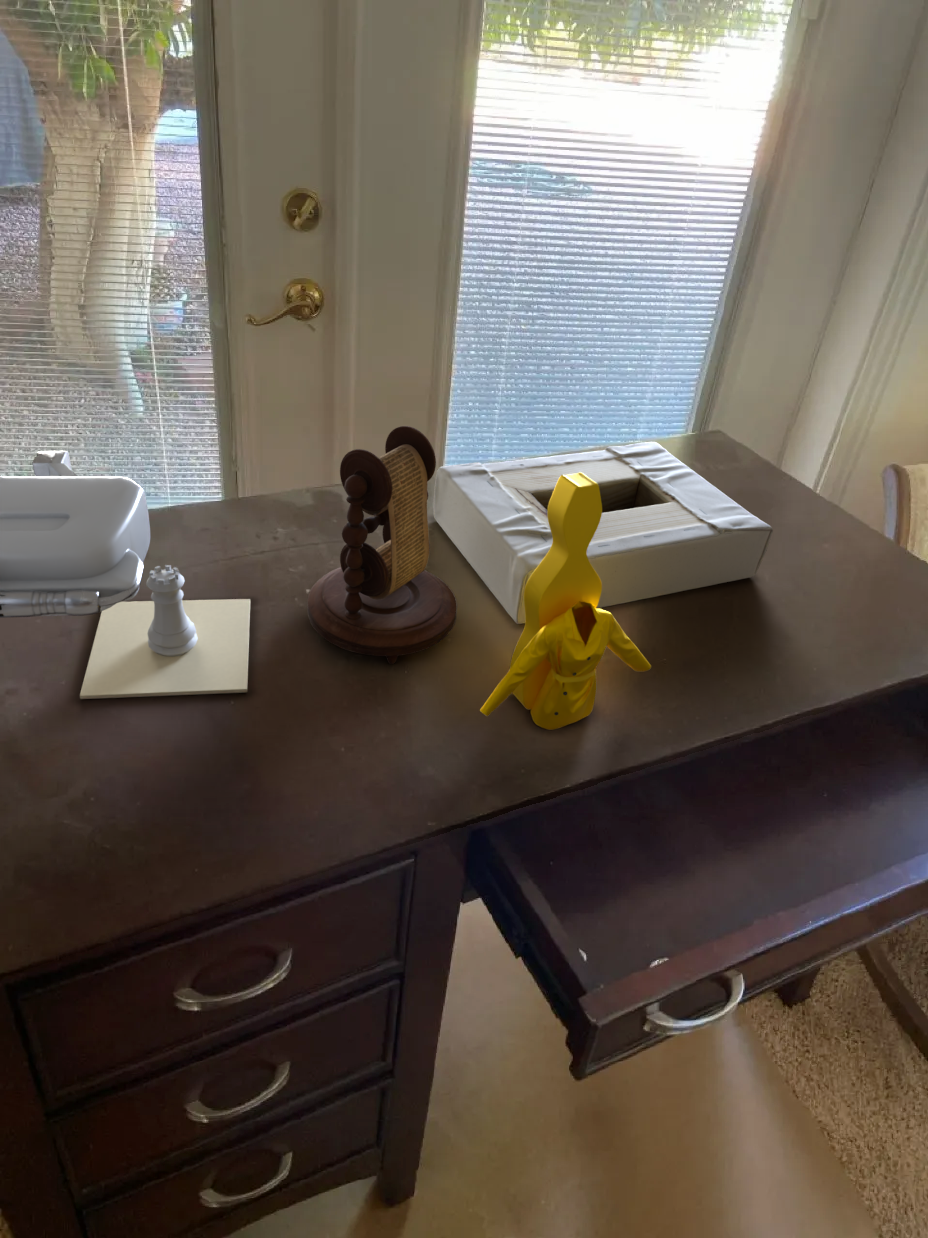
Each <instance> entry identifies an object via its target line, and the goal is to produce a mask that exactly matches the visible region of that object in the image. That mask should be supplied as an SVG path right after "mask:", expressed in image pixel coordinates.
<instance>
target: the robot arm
mask: <svg viewBox="0 0 928 1238" xmlns="http://www.w3.org/2000/svg"><path fill="white" fill-rule="evenodd" d="M32 469H33V473H34V474H33V475H35V476H33V475H32V476H26V475H25V476H22V475H21V476H19V475H17V476H16V475H15V476H14V475H13V476H12V475H9V476H7V475H5V476H4V475H3V476H2V475H1V476H0V619H1V618H2V619H3V618H30V617H31V618H32V617H68V616H69V617H70V616H72V617H83V616H84V617H85V616H90V615H96V614H100V613H101V612H102V611H103V610H106V609H108V608H110V607H112V606H113V605H115V604H116V603H119V602H128V601H131V600H132V599H134V598H135V597H136V596H137V594H138V593H139V591H140V586H141V583H142V579H143V575H144V570H145V568H144V562H145V558H146V556H147V553H148V552H149V551H148V550H149V548H150V544H151V526H150V524H151V523H150V514H149V509H148V502H147V496H146V492H145V490H144V488H143V487H142V486H140V485H139V484H138V483H137V482H135V481H134V480H132V479H131V478H129V477H126V476H79V475H77V473H76V472H74V471H73V469H72V464H71V459H70V454H69V451H68V450H37V452H36V456H34V458H33V460H32Z"/></svg>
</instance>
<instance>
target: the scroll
mask: <svg viewBox="0 0 928 1238" xmlns="http://www.w3.org/2000/svg"><path fill="white" fill-rule="evenodd" d="M384 446H385V447H384V450H385V451H384V452H385V454H382V455H381V456H379V457H378V456H377V455H375V454H374V453H373V452H371V451H369V450H366V449H363V448H355V449H352V450H350V451H348V452H347V453H346V454H344V456H343V457H342V460H341V462H340V466H339V476H340V481H341V482H340V483H341V485H342V487H343V489H344V492H345V493H346V495H347V496H346V498H345V499H346V502H347V503H348V504H349V506H348V509H347V511H346V520H347V523H345V524H344V526H343V527H342V530H341V538H342V540H343V541H344V543H345V545H344V546H343V547H342V549H341V551H340V555H339V565H340V567H337V568H335V569H333V570H331V571H329V572H327V573H325V574H324V575H322V576H321V577H320V578H319V579H318V580H317V581H315V583H314V584H313V586H312V587H311V588H310V590H309V592H308V596H307V617H308V620H309V622H310V624H311V626H312V627H313V629H314V630H315V631H316V633H317V634H319V636H320V637H322V638H323V639H325V640H326V641H327V642H329V643H330V644H332V645H335V646H336V647H339V648H341V649H344V650H346V651H348V652H353V653H356V654H360V655H366V656H376V657H386V660H387V663H389V664H390V665H394V664H395V663H396V661H397V659H398V657H399V656H403V655H404V656H405V655H410V654H414V653H418V652H421V651H424V650H426V649H427V650H428V649H429V648H432V647H434V646H435V645H436V644H438V643H440V642H441V641H443V640H444V639H446V637H448V635H449V634H450V633H451V631H452V629H453V628H454V626H455V624H456V619H457V611H458V604H457V599H456V596H455V594H454V593H453V590H452V589H451V588H450V587H449V585H447V584H446V582H445V581H444V580H442V579H441V578H439V577H438V576H437V575H435V574H433V573H431V572H430V571H427V570H426V568H427V565H428V562H429V558H430V557H429V556H430V554H431V553H430V552H431V546H430V545H431V544H430V535H429V521H428V520H429V519H428V499H429V490H428V482H429V481H430V480H431V479H432V478H433V476H434V474H435V471H436V467H437V459H436V457H437V456H436V453H435V450H434V448H433V446H432V443H431V442H430V440H429V439H428V438H427V436H426V435H425V434H424V433H422V431H420V430H418V429H417V428H415V427H413V426H409V425H401V426H397V427H395V428H394V429H392V430H391V431H390V432H389V434H388V435H387V437H386V440H385V445H384ZM364 513H365V514H367V515H369V516H368V517H365V514H364ZM379 526H380V527H381V526H382V539H383V544H381V545H380V546H378V547H376V548H375V547H374V546H372V545H370V544H369V543H367V542H366V541H367V539H368V536H369V534H373V533H375V531H376V530H377V529H378V527H379Z"/></svg>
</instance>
